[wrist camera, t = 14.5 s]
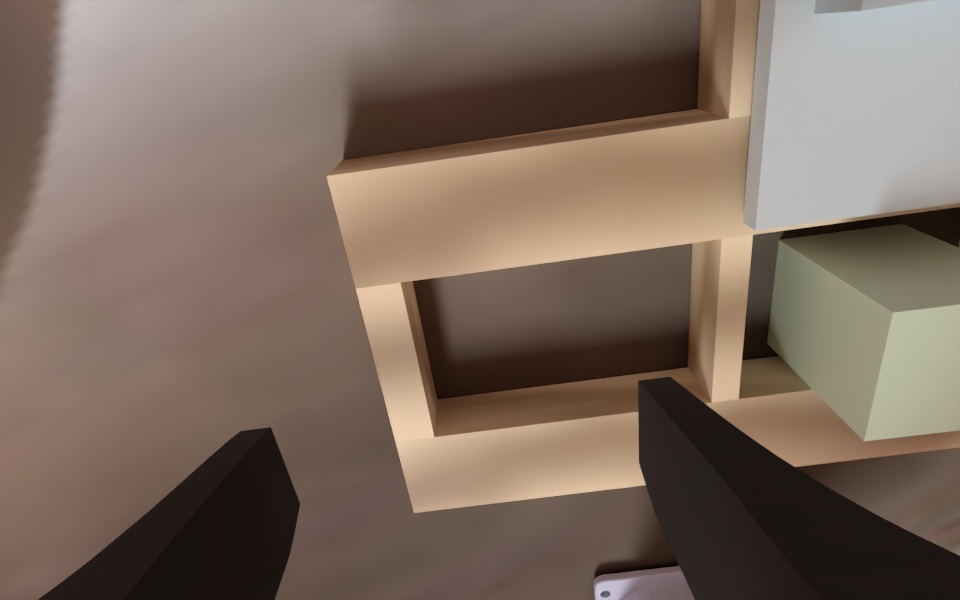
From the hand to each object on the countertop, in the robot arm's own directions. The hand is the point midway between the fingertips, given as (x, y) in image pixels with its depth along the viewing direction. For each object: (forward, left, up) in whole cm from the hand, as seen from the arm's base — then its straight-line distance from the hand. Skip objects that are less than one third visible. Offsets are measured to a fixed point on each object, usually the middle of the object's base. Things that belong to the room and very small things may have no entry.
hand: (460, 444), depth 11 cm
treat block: (-3, -14, -10) cm, 18 cm away
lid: (+5, -14, -8) cm, 17 cm away
